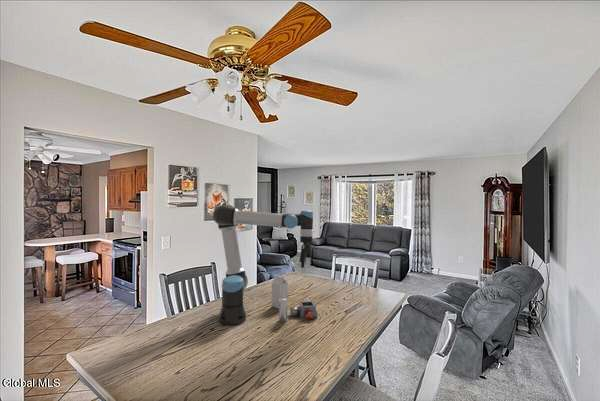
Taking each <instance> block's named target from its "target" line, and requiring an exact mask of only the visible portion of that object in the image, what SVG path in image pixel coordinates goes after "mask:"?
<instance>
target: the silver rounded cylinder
mask: <svg viewBox="0 0 600 401" xmlns="http://www.w3.org/2000/svg"><path fill="white" fill-rule="evenodd" d="M278 322H280V323H286V322H288V297H287V298H280V299H279V308H278Z"/></svg>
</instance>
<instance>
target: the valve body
mask: <svg viewBox="0 0 600 401" xmlns="http://www.w3.org/2000/svg"><path fill="white" fill-rule="evenodd" d="M316 307H317V306H316V303H315V304H314V301H313V300H312V301H311V300H309V301H308V300H307V301H299V306H297V307H289V308H290V309H289V315H290V317H297V316H298V317H299V319H306V320H308V321H311V320H313V319H316V318H318V310H317V308H316Z"/></svg>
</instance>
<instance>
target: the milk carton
mask: <svg viewBox="0 0 600 401" xmlns="http://www.w3.org/2000/svg"><path fill="white" fill-rule="evenodd" d="M280 298H287V299H288V281H287V280H286V279H285V277H284V276H279V275H275V277H274V279H273V280H272V282H271V307H273V308H276V309H279V299H280Z"/></svg>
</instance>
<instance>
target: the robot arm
mask: <svg viewBox="0 0 600 401" xmlns="http://www.w3.org/2000/svg"><path fill="white" fill-rule="evenodd" d="M212 218H213V221H214V222H215V224H217V228H218V230H220V231H221V236H222V243H223V247H224V248H223V249H224V255H225V256H224V257H225V262H226V267H227V270H226V272H225V277H224V278H223V279H222V283H221V308H220V311H219V314H218V323H219V324H221V325H224V326H236V325H240V324H243V323H244V322H245V321H246V320H247V313H246V309H245V307H244V292H245V290H246V288H247V286H248V282H249V281H248V276H247V274H246V270H245V268H244V267H243V266H242V260H241V254H240V247H239V240H238V234H237V227H238V226H239V225H248V226H249V225H253V226H265V227H278V228H287V229H294V228H296V227H300V231H299V232H300V234H299V235H300V237H299V240H300V241H299V242H300V243H302V244H301V249H300V255H299V256H300V257H299V260H298V261H299V263H300V270H299V271H300V274H306V269H311V258H312V257H313V256H312V249H311V246H312V245H311V244H312V243H313V234H314V231H315V230H313V229H314V228H313V226H314V212H313V211H312V210H300V213H288V212H287V213H273V212H266V211H265V212H263V211H261V212H260V211H250V210H249V211H248V210H239V209H238V208H237V207H234V206H233V205H231V204H225V205H224V204H223V205H218V206H217V207H215V208H214V210H213V213H212Z"/></svg>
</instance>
